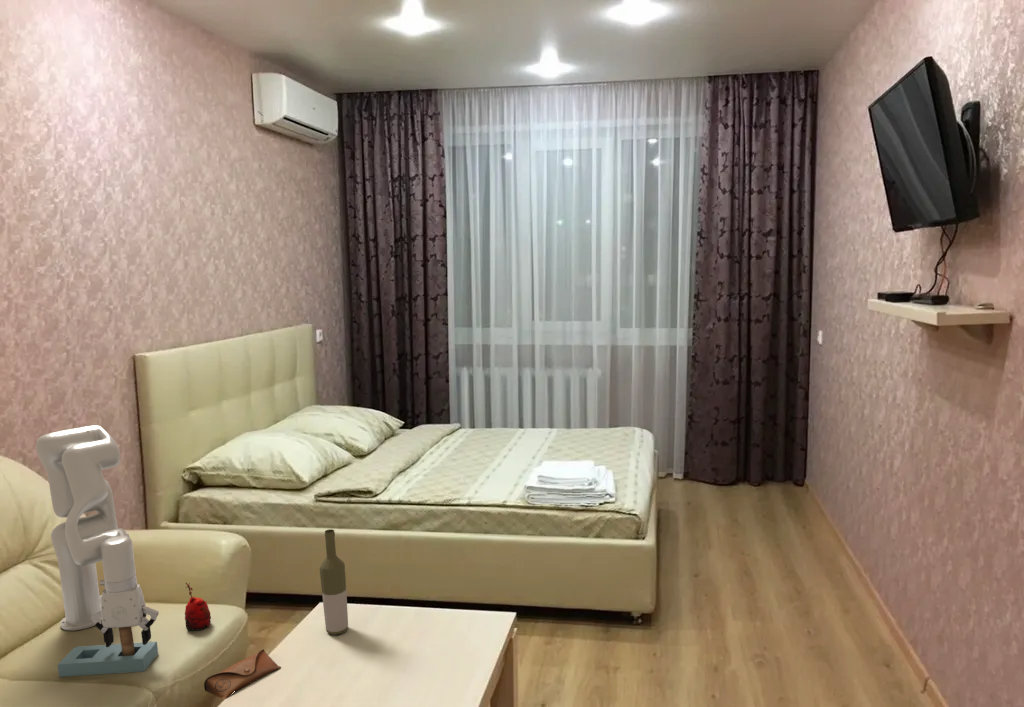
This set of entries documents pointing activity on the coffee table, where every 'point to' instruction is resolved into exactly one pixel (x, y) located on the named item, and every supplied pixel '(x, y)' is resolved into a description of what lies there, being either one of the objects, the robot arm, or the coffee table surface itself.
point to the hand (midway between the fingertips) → (128, 643)
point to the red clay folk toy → (196, 613)
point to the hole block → (106, 660)
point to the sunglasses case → (240, 675)
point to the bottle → (333, 588)
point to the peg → (127, 641)
